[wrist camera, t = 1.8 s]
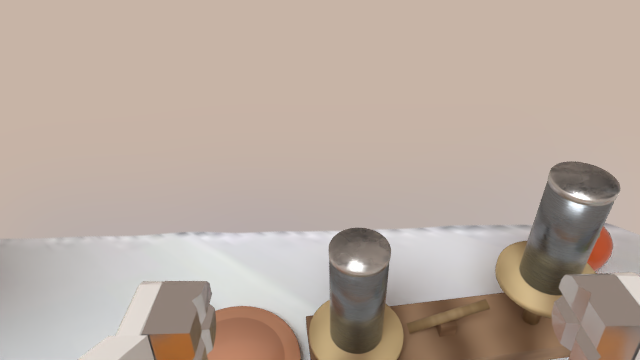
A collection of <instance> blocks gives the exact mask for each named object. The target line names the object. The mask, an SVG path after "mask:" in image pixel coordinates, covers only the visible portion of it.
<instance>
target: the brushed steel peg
mask: <svg viewBox="0 0 640 360" xmlns="http://www.w3.org/2000/svg"><path fill="white" fill-rule="evenodd" d="M390 256H391V247H390V244H389V242H388V241H387V239H386V238H385V237H384V236H382V235H381V234H380V233H378V232H376V231H373V230H370V229H366V228H350V229H347V230H344V231H341V232H339V233H338V234H337V235H335V236H334V237H333V238H332V240H331V242H330V244H329V270H330V335H331V338H332V340H333V342H334V343H335V345H336V346H337V347H339V348H340V349H341V350H343V351H345V352H348V353H352V354H363V353H367V352H369V351H371V350H373V349H374V348H375V347H377V345H378V344H379V343H380V341H381V338H382V332H383V321H384V311H385V301H386V291H387V281H388V270H389V262H390Z"/></svg>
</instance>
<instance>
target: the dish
mask: <svg viewBox="0 0 640 360" xmlns="http://www.w3.org/2000/svg"><path fill="white" fill-rule="evenodd" d="M215 314H216V336H215V342H214V347H213V350H212V351H210V352H209V353H208V354H207V357H208V360H301V359H300V349H299V344H298V342H297V339H296V337H295V335H294V333H293V331H292V330H291V328H290V327H289V326H288V325H287V324H286V323H285V322H284V321H283V320H282V319H281V318H279V317H278V316H277V315H275V314H273V313H271V312H269V311H266V310H264V309H260V308H256V307H248V306H237V307H229V308H224V309H220V310H217V311H215Z"/></svg>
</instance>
